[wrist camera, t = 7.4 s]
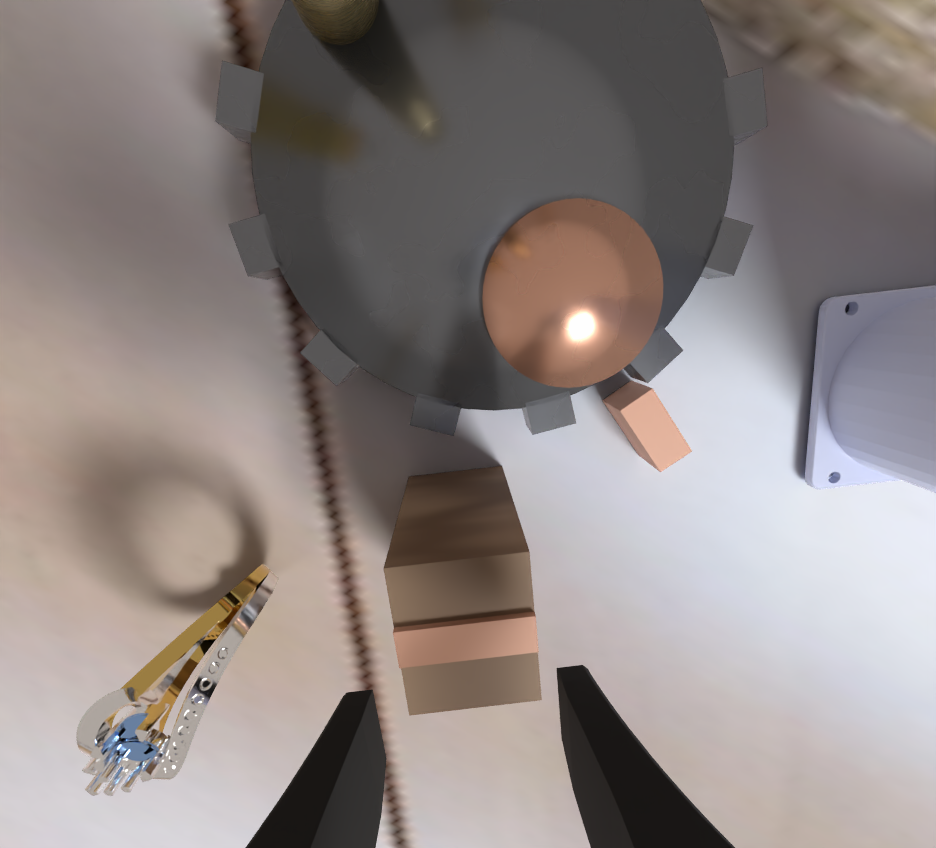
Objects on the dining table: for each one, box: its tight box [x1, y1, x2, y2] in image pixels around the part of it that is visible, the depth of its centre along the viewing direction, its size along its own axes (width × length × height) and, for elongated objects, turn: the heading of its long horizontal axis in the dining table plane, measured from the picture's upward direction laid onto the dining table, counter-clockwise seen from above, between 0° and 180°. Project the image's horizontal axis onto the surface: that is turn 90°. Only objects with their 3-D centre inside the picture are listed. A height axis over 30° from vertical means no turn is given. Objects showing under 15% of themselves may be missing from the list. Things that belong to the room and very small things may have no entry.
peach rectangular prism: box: [602, 381, 692, 472], centre depth 17 cm, size 3×1×2 cm, turn 36°
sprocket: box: [215, 0, 767, 436], centre depth 13 cm, size 17×17×5 cm
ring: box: [76, 564, 278, 796], centre depth 16 cm, size 7×3×8 cm, turn 134°
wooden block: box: [384, 466, 542, 715], centre depth 16 cm, size 4×5×7 cm
